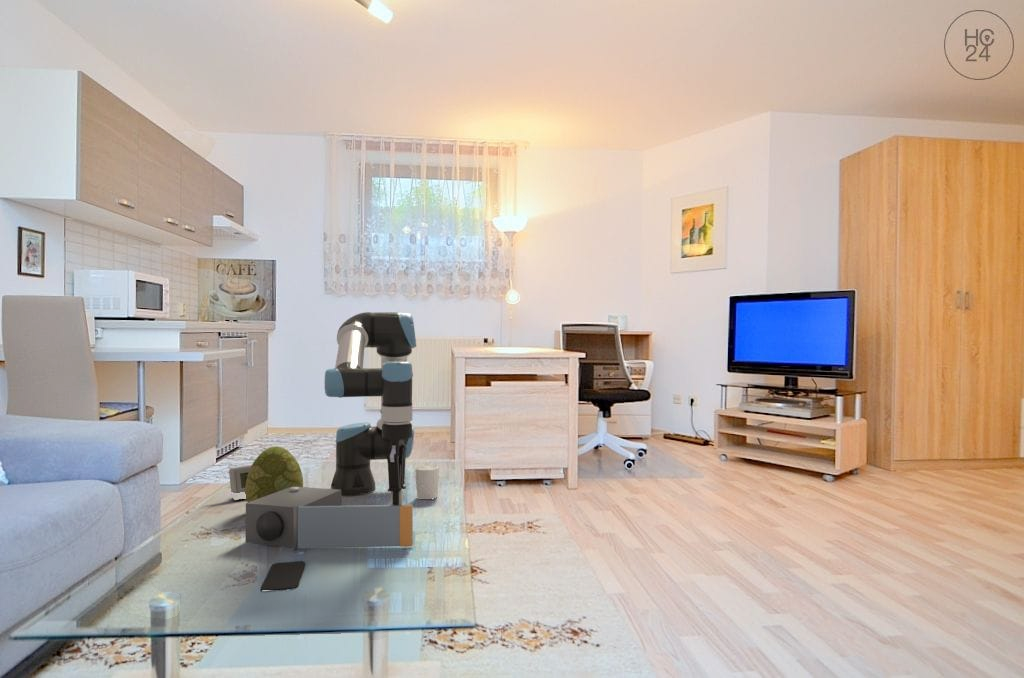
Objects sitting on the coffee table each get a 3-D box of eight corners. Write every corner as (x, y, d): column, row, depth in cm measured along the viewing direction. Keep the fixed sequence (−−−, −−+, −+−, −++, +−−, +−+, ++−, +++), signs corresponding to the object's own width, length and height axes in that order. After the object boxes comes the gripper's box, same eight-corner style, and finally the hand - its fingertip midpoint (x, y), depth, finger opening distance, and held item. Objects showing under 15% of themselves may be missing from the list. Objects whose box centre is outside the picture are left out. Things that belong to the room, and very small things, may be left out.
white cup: (437, 500, 188) (437, 470, 188) (413, 500, 188) (413, 470, 188) (440, 494, 196) (440, 465, 196) (417, 494, 196) (417, 465, 196)
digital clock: (230, 502, 187) (230, 469, 187) (227, 496, 194) (227, 465, 194) (283, 496, 195) (283, 464, 195) (278, 490, 203) (278, 460, 203)
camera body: (292, 521, 166) (292, 483, 166) (341, 525, 162) (341, 486, 162) (241, 544, 146) (241, 501, 146) (295, 550, 142) (295, 506, 142)
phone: (259, 590, 117) (272, 563, 132) (259, 594, 117) (272, 566, 132) (297, 587, 119) (306, 560, 134) (297, 591, 119) (306, 564, 134)
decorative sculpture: (269, 523, 164) (269, 453, 164) (233, 515, 172) (233, 448, 173) (314, 509, 178) (314, 444, 179) (279, 502, 186) (279, 440, 187)
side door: (412, 545, 144) (412, 503, 144) (411, 547, 143) (411, 505, 143) (294, 547, 143) (294, 505, 143) (292, 549, 142) (292, 507, 142)
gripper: (388, 419, 152) (387, 509, 152) (376, 426, 139) (375, 524, 139) (416, 419, 152) (416, 509, 151) (407, 426, 139) (406, 524, 138)
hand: (396, 516), depth 145 cm, fingers closed
